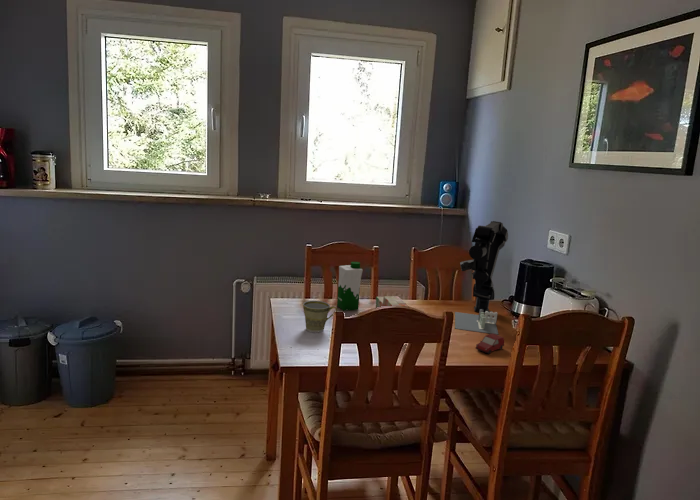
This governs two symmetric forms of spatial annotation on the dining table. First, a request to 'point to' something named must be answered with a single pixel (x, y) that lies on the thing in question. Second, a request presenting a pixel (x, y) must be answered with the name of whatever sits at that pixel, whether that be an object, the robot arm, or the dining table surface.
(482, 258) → the robot arm
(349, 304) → the milk carton
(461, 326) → the mat
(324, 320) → the ceramic cup
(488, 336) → the red toy car
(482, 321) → the hinged fence panel
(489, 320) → the fixed fence panel
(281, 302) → the dining table surface
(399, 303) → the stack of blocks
